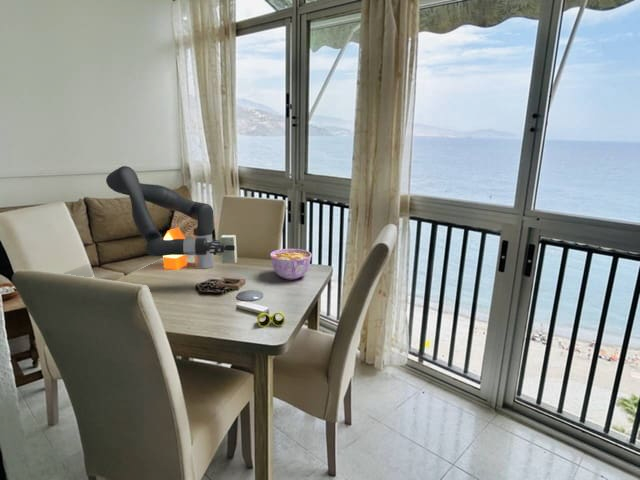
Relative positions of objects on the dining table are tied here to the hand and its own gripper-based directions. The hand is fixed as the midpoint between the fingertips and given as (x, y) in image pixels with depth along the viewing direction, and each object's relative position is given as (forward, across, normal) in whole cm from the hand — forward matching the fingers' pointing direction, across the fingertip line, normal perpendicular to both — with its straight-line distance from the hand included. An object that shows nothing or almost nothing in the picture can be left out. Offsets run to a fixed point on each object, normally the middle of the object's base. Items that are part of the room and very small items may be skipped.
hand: (234, 246), depth 175 cm
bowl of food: (+26, +10, +19) cm, 33 cm away
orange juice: (-33, +31, +19) cm, 49 cm away
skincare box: (-3, 0, +8) cm, 8 cm away
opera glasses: (+15, -41, +19) cm, 47 cm away
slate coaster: (+7, -14, +18) cm, 24 cm away
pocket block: (-3, 0, +18) cm, 19 cm away
